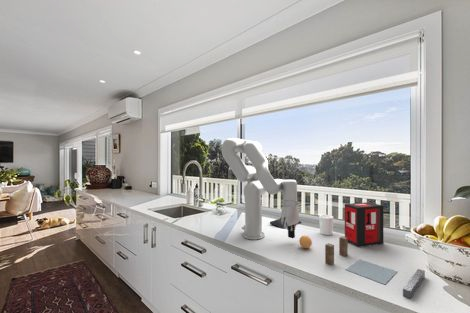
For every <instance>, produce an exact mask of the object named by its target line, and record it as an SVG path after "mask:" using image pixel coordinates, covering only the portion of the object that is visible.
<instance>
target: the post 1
mask: <svg viewBox="0 0 470 313" xmlns="http://www.w3.org/2000/svg"><path fill="white" fill-rule="evenodd" d="M324 246H325V247H324V248H325V249H324V252H325V254H324V256H325V258H324V259H325V260H324V261H325V264H326V265H329V266H333V265H334V264H335V244H333V243H326V244H325V245H324Z"/></svg>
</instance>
